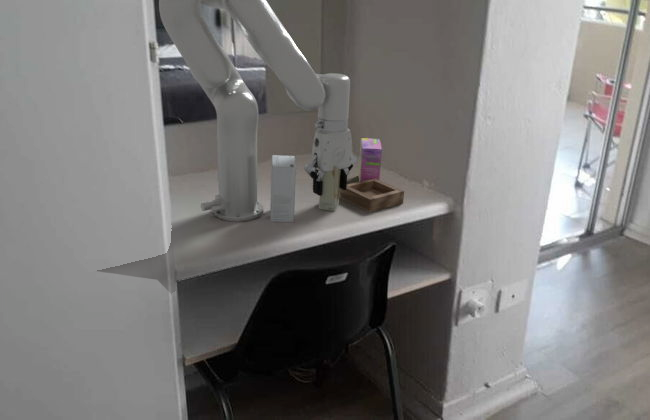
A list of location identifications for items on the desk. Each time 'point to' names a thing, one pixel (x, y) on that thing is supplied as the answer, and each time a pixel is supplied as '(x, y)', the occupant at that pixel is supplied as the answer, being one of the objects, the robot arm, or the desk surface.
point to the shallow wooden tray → (372, 194)
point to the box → (370, 159)
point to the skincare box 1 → (283, 188)
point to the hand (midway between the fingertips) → (329, 190)
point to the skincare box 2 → (330, 190)
